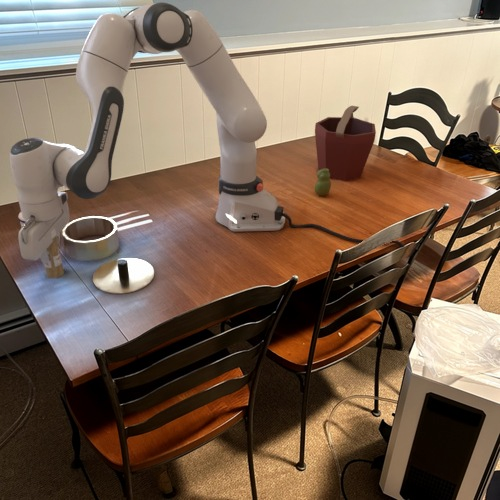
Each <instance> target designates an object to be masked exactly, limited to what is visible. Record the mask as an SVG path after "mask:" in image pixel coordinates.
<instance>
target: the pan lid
mask: <svg viewBox="0 0 500 500" xmlns="http://www.w3.org/2000/svg"><path fill="white" fill-rule="evenodd" d="M154 278H155V269H154V267H153V265H151V264H150V263H149V262H147V261H146V260H143V259H139V258H133V257H125V258H123V257H122V258H117V259H113V260H110V261H107V262H106V263H103V264H102V265H100V266H99V267H97V269H96V270H95V271H94V273H93V275H92V282H93V285H94V286H95V287H96V289H98V290H99V291H101V292H103V293H106V294H112V295H127V294H131V293H132V294H133V293H135V292H138V291H141V290H142V289H144V288H146V287H148V286H149V285H150V284H151V283H152V282H153V280H154Z"/></svg>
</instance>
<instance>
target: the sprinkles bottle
mask: <svg viewBox="0 0 500 500" xmlns="http://www.w3.org/2000/svg"><path fill="white" fill-rule="evenodd" d="M51 237H52V238H53V242H52V243H51V244H50V246H49V247H48V248H47V252H46V253H47V254H50V258H51V260H50V261H49V263H43V266H44V270H45V275H46V277H47V278H49V279H57V278H60V277H62V276H63V275H64V273H65V268H64V266H63V261H62V255H61V252H60V248H59V247H58V243H57V238H56V230H55V228H54V229H53V230H52V231H51Z"/></svg>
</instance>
